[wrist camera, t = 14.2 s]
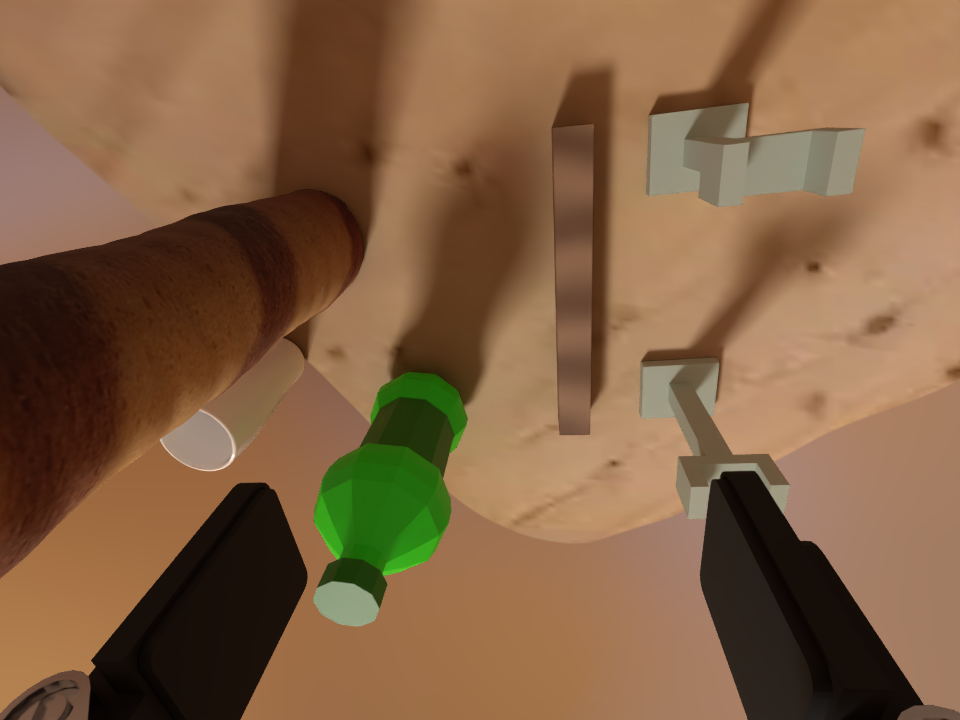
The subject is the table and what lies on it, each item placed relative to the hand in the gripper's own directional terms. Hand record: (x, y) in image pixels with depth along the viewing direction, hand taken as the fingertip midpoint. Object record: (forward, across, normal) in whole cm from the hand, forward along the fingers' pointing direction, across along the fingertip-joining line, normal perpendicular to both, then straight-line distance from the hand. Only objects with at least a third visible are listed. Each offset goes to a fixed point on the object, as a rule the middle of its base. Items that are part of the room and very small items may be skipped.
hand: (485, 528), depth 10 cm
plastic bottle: (+36, +12, +18) cm, 42 cm away
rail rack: (+36, -14, +7) cm, 40 cm away
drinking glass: (+36, +27, +12) cm, 47 cm away
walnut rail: (+37, -4, +7) cm, 38 cm away
